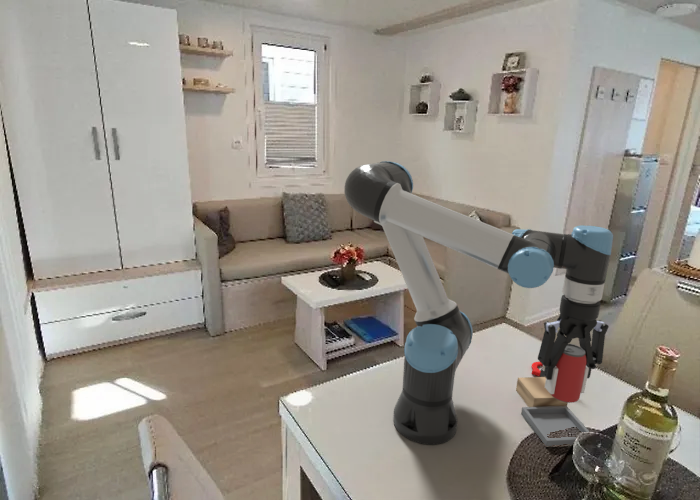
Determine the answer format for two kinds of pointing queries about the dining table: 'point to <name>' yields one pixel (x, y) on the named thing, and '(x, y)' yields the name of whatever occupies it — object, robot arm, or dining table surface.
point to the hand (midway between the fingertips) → (564, 389)
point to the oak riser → (536, 392)
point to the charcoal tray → (552, 422)
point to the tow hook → (536, 371)
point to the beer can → (570, 374)
